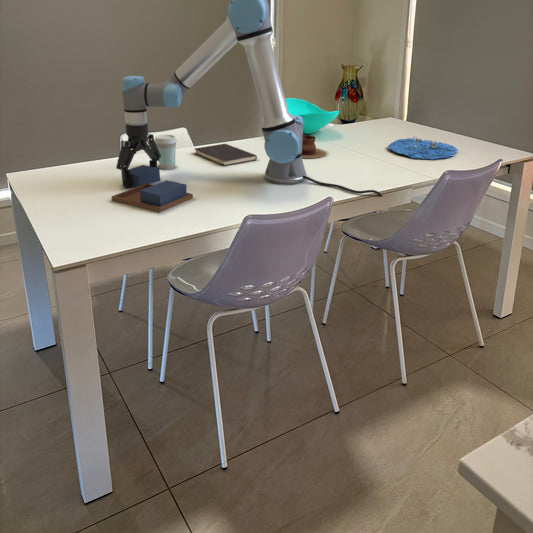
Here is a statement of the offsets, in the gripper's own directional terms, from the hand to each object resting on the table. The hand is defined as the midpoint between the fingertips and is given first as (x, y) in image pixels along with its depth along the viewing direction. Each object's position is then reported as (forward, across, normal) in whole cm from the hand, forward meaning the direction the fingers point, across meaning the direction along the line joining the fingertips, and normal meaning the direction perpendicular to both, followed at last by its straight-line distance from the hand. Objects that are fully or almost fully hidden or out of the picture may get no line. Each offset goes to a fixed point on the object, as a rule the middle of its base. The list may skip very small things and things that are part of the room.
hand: (141, 183), depth 211 cm
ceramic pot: (0, -70, +29) cm, 76 cm away
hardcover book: (0, -46, +4) cm, 46 cm away
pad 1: (0, 0, 0) cm, 0 cm away
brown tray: (0, +12, +16) cm, 20 cm away
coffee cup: (0, -21, -6) cm, 22 cm away
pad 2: (0, +12, +21) cm, 24 cm away
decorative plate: (0, -102, +70) cm, 124 cm away
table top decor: (0, -104, +10) cm, 105 cm away
